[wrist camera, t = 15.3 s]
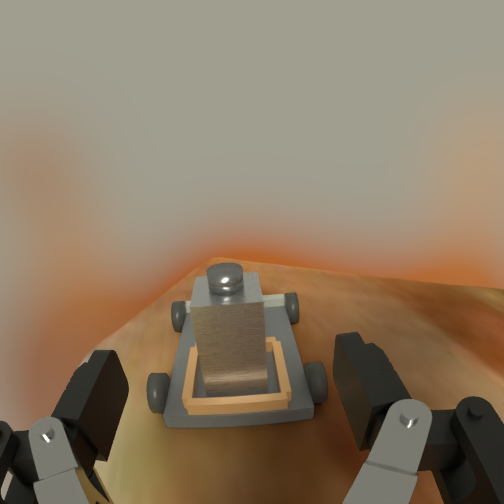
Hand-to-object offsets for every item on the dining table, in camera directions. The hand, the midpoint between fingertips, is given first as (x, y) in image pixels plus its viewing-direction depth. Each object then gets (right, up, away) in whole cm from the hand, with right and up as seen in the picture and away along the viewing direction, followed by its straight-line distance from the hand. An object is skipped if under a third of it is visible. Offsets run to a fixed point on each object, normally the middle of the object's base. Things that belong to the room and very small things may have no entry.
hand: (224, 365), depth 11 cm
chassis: (-1, -7, +21) cm, 22 cm away
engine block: (0, -7, +16) cm, 17 cm away
